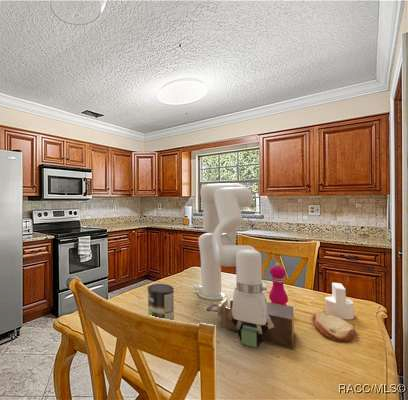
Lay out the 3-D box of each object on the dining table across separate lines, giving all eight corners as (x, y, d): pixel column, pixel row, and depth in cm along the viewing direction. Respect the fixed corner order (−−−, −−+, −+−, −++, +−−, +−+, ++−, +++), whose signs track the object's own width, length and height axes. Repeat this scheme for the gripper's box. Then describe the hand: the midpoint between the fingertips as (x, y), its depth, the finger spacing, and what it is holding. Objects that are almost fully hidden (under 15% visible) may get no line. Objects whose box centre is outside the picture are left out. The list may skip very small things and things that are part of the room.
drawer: (204, 324, 105) (204, 303, 105) (212, 313, 114) (212, 295, 114) (258, 337, 94) (257, 314, 94) (262, 324, 103) (261, 304, 103)
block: (241, 343, 90) (241, 330, 90) (243, 337, 93) (243, 324, 93) (256, 347, 87) (256, 333, 87) (258, 341, 91) (258, 328, 91)
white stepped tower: (356, 321, 106) (355, 290, 107) (327, 316, 111) (326, 287, 111) (350, 312, 114) (350, 284, 114) (323, 308, 119) (323, 281, 119)
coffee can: (151, 329, 103) (151, 292, 103) (145, 318, 113) (145, 284, 114) (178, 328, 104) (177, 291, 104) (170, 316, 114) (169, 283, 114)
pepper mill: (291, 311, 117) (290, 265, 117) (272, 310, 118) (271, 264, 118) (284, 305, 124) (283, 261, 124) (266, 304, 125) (265, 261, 125)
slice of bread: (320, 315, 113) (320, 305, 113) (375, 334, 96) (374, 324, 96) (289, 322, 107) (288, 312, 107) (340, 344, 90) (340, 333, 90)
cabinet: (242, 336, 96) (242, 309, 97) (248, 323, 107) (248, 298, 107) (292, 349, 88) (291, 319, 88) (293, 333, 98) (293, 306, 98)
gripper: (279, 288, 88) (280, 344, 88) (224, 280, 98) (225, 330, 98) (277, 295, 82) (279, 355, 82) (219, 285, 92) (220, 339, 92)
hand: (250, 341), depth 90 cm, fingers closed on block, 4 cm apart
